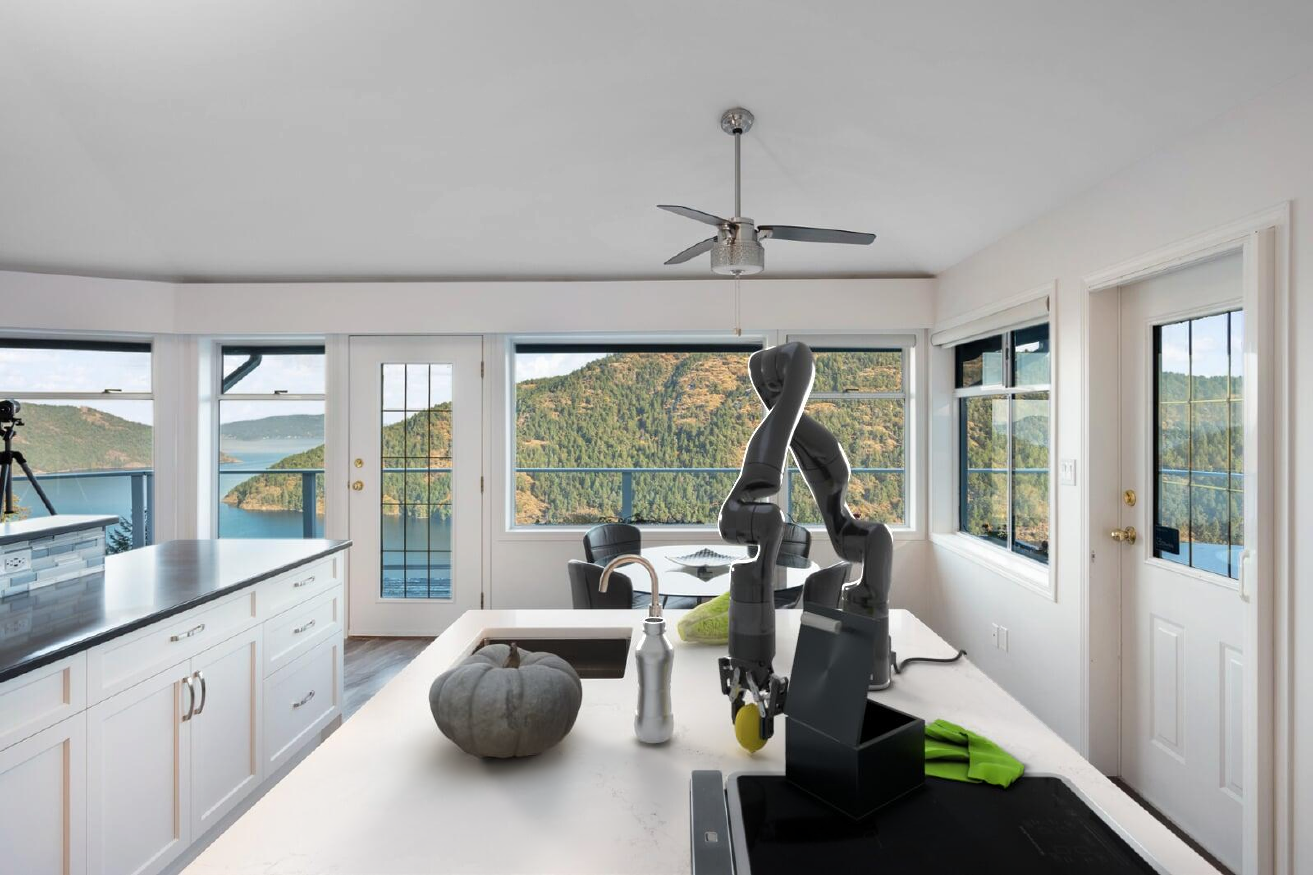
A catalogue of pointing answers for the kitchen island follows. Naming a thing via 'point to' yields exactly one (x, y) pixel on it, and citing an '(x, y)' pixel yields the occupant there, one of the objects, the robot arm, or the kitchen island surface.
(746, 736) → the lemon
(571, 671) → the gourd
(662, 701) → the silver bottle
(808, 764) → the box
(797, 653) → the caddy lid
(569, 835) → the kitchen island surface
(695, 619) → the lettuce
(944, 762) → the cloth
